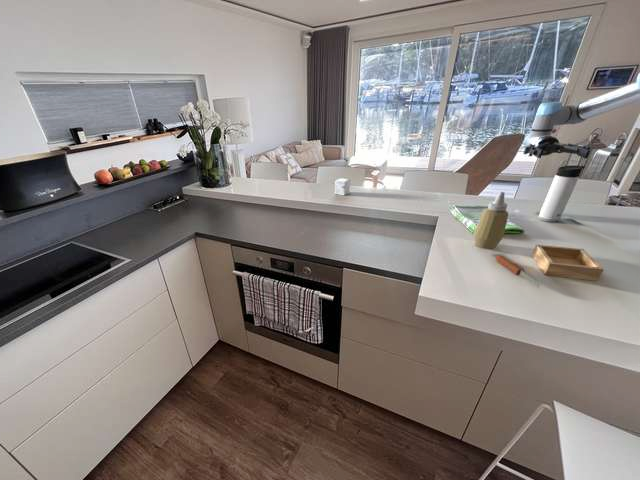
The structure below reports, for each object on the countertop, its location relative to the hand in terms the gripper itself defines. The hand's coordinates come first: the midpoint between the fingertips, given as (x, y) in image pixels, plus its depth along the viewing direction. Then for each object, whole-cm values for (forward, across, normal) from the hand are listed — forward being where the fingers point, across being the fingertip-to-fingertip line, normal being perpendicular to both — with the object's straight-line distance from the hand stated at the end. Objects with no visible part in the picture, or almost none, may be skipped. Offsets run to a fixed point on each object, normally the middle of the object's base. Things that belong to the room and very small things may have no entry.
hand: (563, 154), depth 106 cm
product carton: (-11, +84, -23) cm, 88 cm away
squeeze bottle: (+39, +25, -22) cm, 52 cm away
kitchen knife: (+57, +20, -22) cm, 64 cm away
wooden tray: (+49, +8, -22) cm, 54 cm away
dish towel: (+18, +23, -22) cm, 36 cm away
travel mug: (+10, 0, -22) cm, 24 cm away
